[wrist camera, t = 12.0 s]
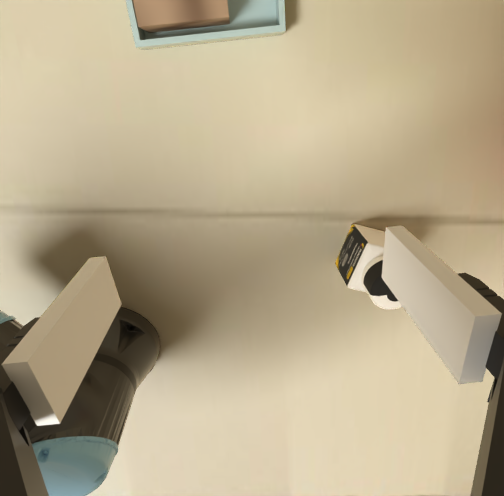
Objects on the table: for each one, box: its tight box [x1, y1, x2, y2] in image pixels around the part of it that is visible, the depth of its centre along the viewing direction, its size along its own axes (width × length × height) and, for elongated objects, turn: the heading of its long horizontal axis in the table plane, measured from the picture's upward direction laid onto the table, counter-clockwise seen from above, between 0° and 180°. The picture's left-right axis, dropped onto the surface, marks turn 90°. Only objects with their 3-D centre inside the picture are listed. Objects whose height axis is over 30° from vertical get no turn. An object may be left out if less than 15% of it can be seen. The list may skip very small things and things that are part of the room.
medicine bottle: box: [335, 224, 402, 309], centre depth 47 cm, size 7×7×12 cm
